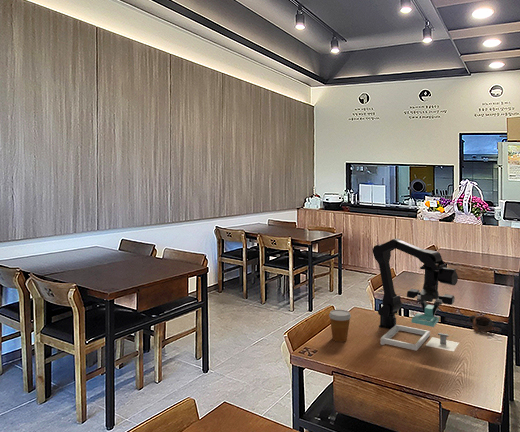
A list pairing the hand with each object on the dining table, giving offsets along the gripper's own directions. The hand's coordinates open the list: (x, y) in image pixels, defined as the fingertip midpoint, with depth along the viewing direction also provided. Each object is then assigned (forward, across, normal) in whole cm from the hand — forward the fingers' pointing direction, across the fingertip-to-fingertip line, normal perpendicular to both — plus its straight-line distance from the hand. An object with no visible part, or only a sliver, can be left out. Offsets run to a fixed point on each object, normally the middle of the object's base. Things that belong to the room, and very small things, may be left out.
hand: (429, 315), depth 191 cm
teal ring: (+1, 0, -5) cm, 5 cm away
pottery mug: (+11, +18, +23) cm, 31 cm away
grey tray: (+11, -8, -8) cm, 15 cm away
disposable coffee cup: (+11, -32, -22) cm, 40 cm away
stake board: (+10, +7, -6) cm, 14 cm away
